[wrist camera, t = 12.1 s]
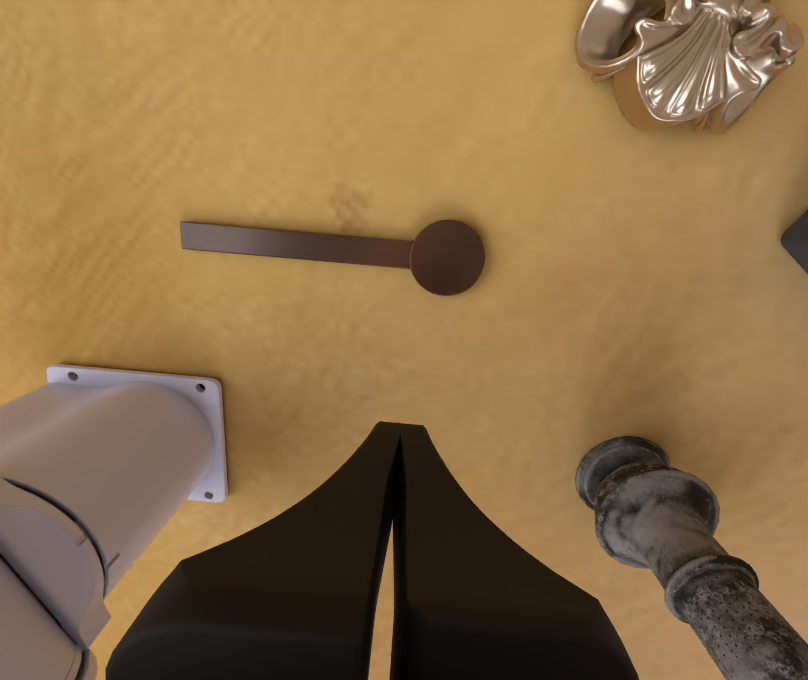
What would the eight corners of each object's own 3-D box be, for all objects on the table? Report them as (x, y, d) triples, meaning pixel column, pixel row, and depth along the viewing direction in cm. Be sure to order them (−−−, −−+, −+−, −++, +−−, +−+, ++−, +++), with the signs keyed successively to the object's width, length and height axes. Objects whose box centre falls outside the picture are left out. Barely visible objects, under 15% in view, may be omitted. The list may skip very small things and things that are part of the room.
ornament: (804, 1, 16) (910, -58, 13) (701, 171, 18) (768, 161, 15) (631, -93, 15) (693, -182, 12) (544, 94, 17) (575, 64, 14)
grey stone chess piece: (556, 508, 24) (683, 779, 12) (589, 422, 22) (773, 646, 11) (651, 526, 24) (864, 811, 13) (691, 443, 22) (982, 685, 11)
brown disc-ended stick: (188, 271, 20) (181, 272, 20) (181, 196, 19) (174, 195, 19) (477, 296, 20) (479, 299, 20) (488, 223, 19) (490, 223, 19)
